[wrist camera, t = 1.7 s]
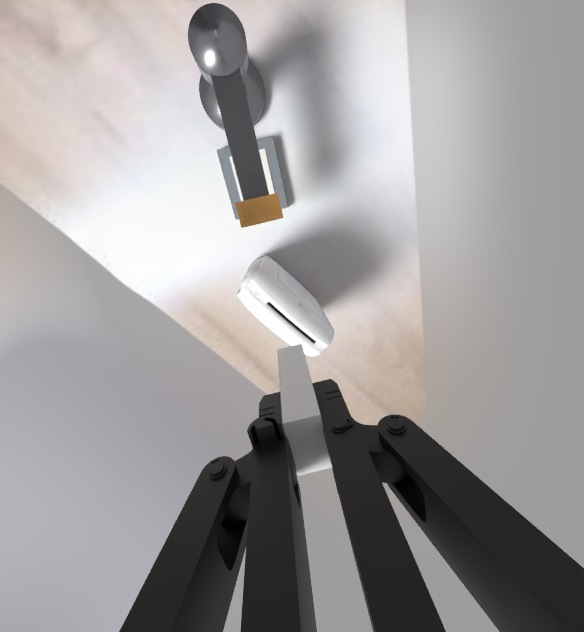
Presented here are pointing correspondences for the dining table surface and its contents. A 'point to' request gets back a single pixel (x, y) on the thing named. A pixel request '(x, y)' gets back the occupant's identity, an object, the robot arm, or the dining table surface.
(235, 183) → the label tile
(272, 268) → the photo printer
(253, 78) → the round-base stand
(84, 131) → the dining table surface
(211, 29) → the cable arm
